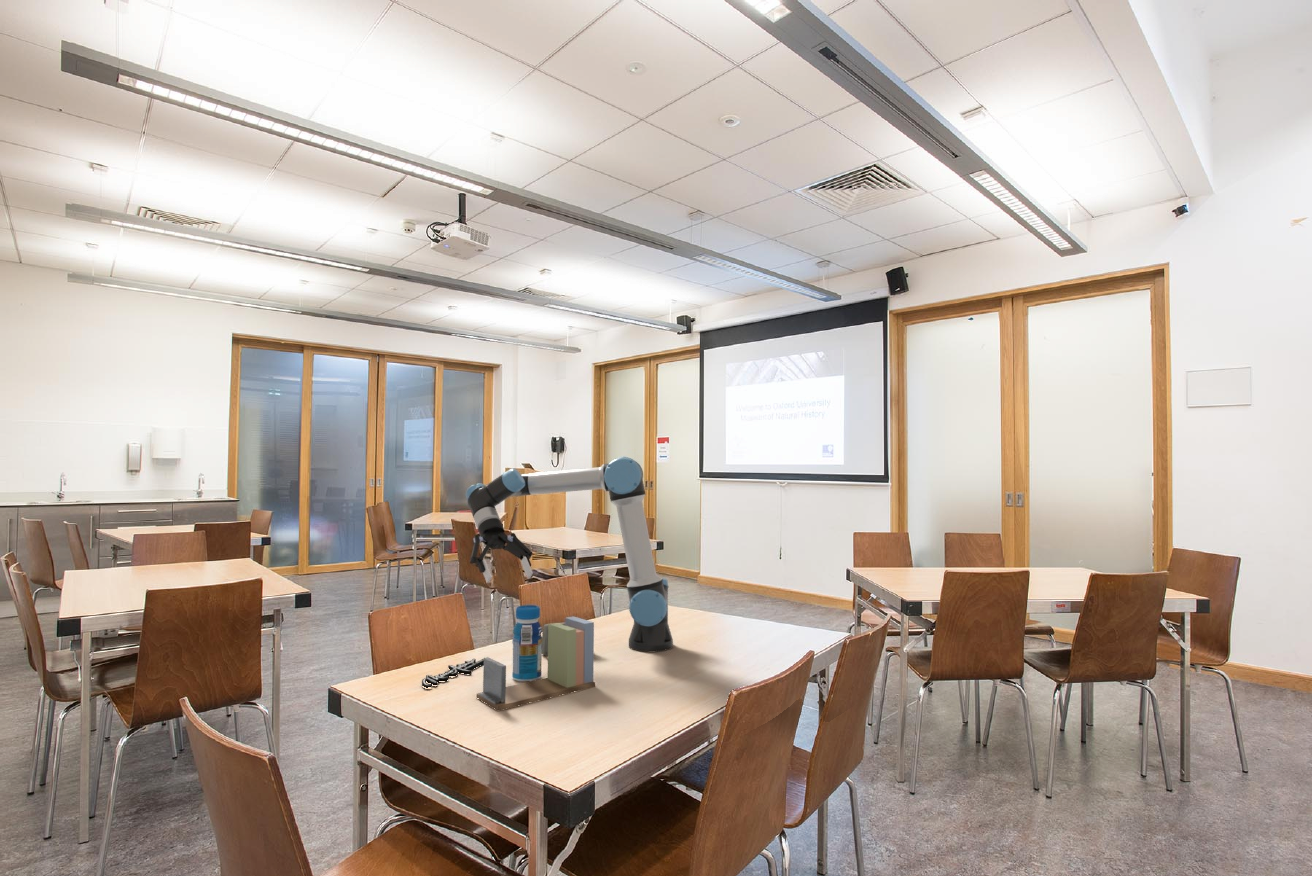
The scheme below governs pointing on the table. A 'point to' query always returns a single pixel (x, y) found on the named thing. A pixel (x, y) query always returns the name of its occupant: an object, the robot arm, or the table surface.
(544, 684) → the shelf board
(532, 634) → the beverage bottle
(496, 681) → the bookend
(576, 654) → the book row
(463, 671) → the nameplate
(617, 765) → the table surface
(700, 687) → the table surface
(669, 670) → the table surface
